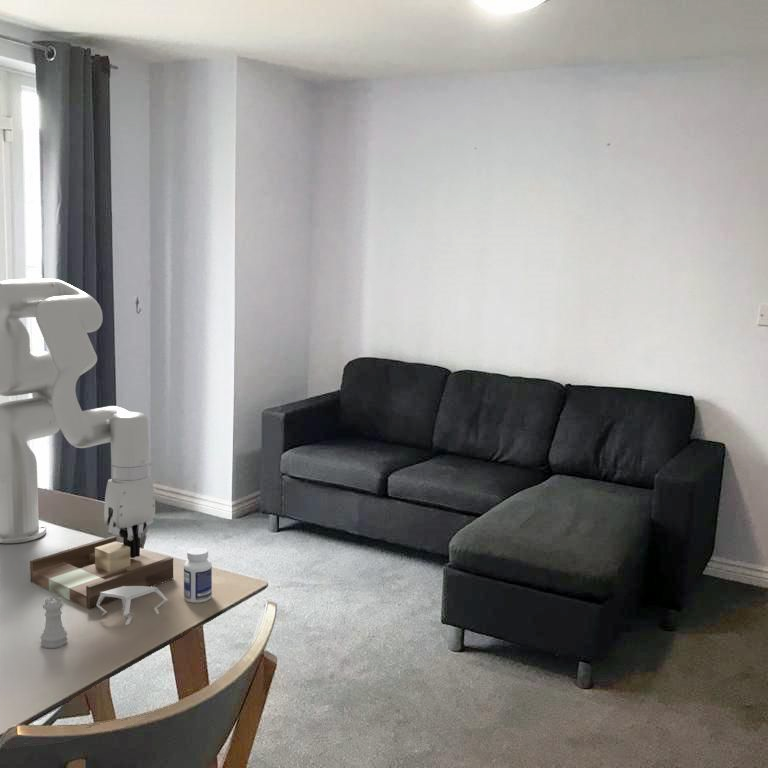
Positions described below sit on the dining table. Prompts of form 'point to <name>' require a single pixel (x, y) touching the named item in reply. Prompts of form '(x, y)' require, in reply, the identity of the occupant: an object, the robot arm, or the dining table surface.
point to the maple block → (112, 556)
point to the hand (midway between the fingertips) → (131, 555)
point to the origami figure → (129, 597)
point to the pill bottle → (197, 576)
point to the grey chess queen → (53, 625)
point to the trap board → (94, 574)
